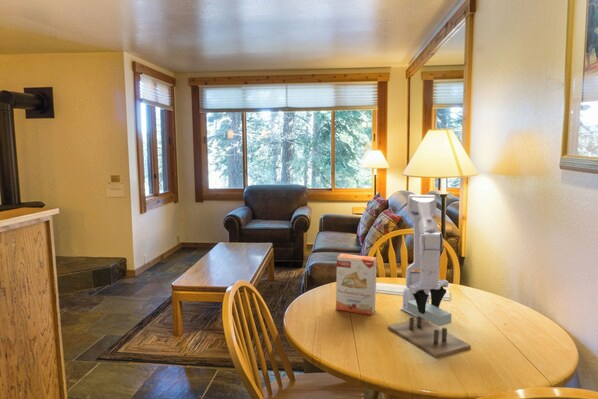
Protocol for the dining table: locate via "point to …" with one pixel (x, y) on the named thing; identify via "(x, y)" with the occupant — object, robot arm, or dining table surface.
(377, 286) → the baseboard molding
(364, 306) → the cracker box
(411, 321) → the brown slab
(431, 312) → the pale grey block
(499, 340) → the dining table surface
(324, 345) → the dining table surface
